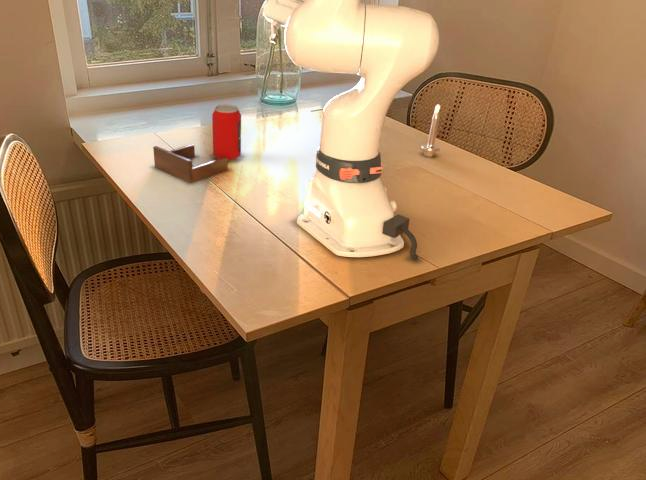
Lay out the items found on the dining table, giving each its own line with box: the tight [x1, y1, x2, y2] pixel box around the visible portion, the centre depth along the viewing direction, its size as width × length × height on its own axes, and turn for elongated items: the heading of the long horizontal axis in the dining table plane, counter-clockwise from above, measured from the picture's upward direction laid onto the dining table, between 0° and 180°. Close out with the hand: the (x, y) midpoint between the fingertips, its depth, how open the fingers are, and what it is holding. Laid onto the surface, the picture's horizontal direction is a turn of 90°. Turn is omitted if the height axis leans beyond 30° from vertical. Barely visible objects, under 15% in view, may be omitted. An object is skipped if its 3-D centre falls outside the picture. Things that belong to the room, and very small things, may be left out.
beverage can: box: [211, 104, 242, 162], centre depth 139 cm, size 7×7×12 cm
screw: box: [420, 104, 442, 158], centre depth 146 cm, size 13×5×5 cm
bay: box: [152, 143, 228, 184], centre depth 134 cm, size 11×12×5 cm
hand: (287, 47), depth 143 cm, fingers open, 8 cm apart
